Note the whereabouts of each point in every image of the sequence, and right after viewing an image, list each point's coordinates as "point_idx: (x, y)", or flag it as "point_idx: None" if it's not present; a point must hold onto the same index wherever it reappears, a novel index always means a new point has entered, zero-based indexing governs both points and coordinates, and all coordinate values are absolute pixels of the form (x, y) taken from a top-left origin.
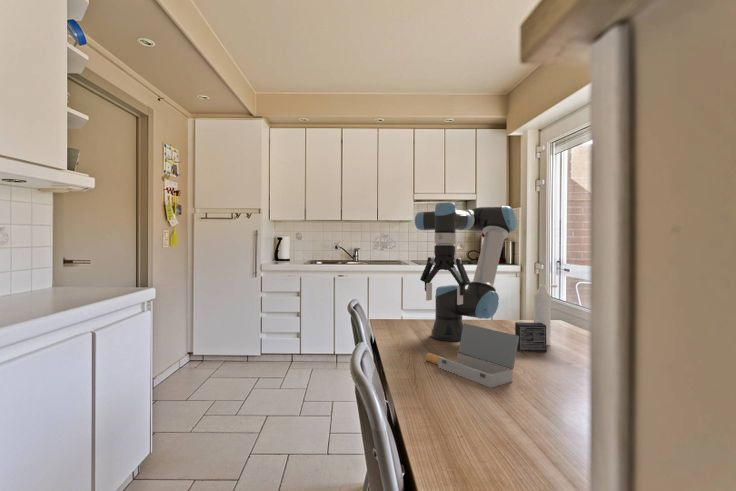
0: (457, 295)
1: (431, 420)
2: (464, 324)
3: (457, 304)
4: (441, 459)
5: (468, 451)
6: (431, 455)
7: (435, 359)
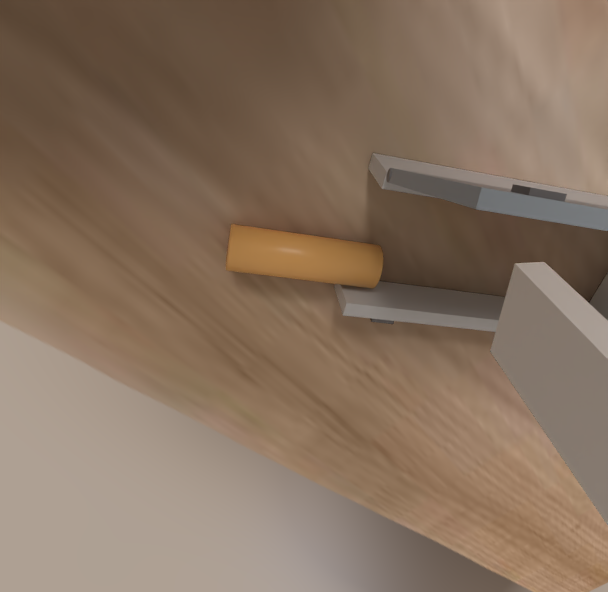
0: (561, 448)
1: (508, 527)
2: (480, 209)
3: (497, 352)
4: (567, 572)
5: (599, 544)
6: (551, 575)
7: (303, 279)
